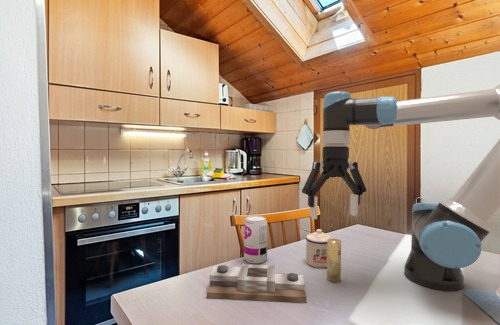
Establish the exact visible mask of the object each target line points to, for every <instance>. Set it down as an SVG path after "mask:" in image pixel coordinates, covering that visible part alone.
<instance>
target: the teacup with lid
mask: <svg viewBox="0 0 500 325" xmlns="http://www.w3.org/2000/svg"><path fill="white" fill-rule="evenodd" d="M328 239H333V237H332V236H331V235H329V234H326V233H325V232H323V230H322V229H320V228H318V229H316V231H314V232H312V233H308V234H307V235H306V236H305V240H306V241H305V244H306V245H305V248H306V250H305V251H306V252H305V258H306V259H305V260H306V264H308V265H309V266H312V267H314V268H321V269H323V268H327V240H328Z"/></svg>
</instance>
